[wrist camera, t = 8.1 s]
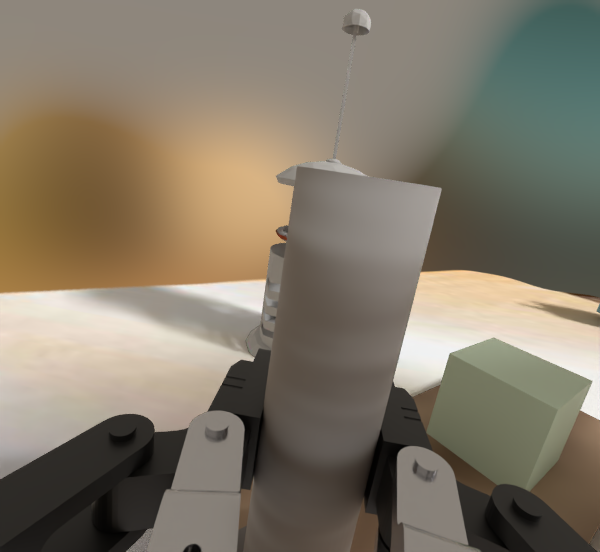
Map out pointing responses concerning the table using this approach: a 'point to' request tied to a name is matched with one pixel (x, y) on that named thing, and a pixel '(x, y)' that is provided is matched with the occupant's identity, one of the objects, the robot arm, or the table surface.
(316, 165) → the french press
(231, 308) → the table surface
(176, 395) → the table surface
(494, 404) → the cube
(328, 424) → the wooden board with post
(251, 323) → the table surface
